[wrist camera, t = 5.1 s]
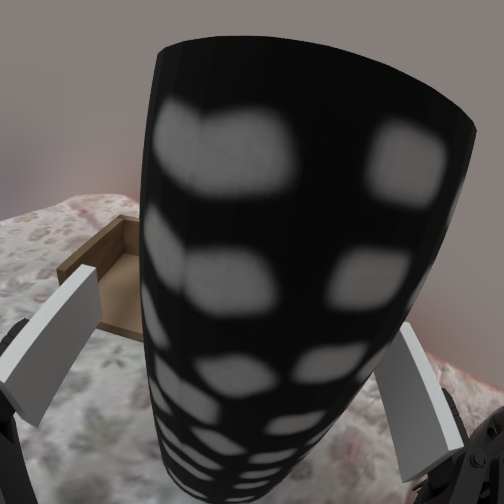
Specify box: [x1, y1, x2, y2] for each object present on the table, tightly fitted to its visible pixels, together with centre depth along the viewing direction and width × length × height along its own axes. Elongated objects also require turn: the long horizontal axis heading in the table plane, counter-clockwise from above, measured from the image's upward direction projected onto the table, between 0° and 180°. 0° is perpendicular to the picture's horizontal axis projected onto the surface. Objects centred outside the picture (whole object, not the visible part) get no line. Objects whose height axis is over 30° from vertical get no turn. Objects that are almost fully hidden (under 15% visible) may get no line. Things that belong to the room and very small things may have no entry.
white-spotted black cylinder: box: [139, 36, 477, 504], centre depth 11 cm, size 8×8×20 cm
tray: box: [56, 215, 144, 342], centre depth 27 cm, size 13×13×6 cm
